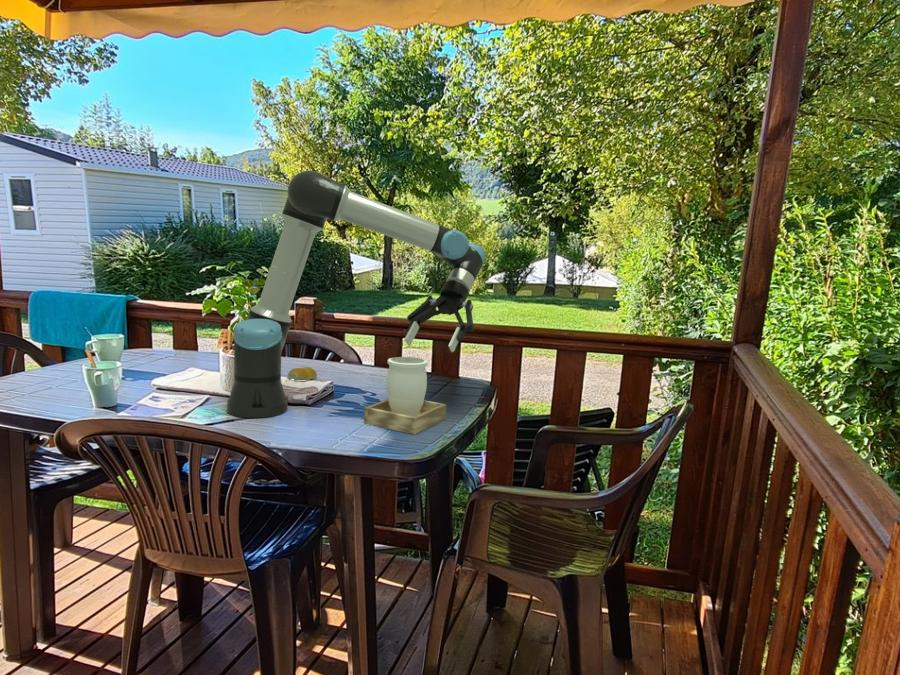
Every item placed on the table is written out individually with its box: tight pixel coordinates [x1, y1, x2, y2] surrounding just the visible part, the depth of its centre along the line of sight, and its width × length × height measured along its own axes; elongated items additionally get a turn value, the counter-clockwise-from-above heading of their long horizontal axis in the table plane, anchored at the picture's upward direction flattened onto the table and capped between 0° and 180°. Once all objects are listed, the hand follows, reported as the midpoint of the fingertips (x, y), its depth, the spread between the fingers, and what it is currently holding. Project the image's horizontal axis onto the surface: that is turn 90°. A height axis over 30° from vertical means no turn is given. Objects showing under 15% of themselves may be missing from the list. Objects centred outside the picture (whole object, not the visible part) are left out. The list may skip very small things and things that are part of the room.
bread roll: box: [287, 366, 318, 381], centre depth 190 cm, size 8×9×4 cm
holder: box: [363, 398, 447, 436], centre depth 151 cm, size 15×16×4 cm
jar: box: [386, 356, 429, 417], centre depth 150 cm, size 11×10×15 cm
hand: (428, 345), depth 157 cm, fingers open, 13 cm apart
